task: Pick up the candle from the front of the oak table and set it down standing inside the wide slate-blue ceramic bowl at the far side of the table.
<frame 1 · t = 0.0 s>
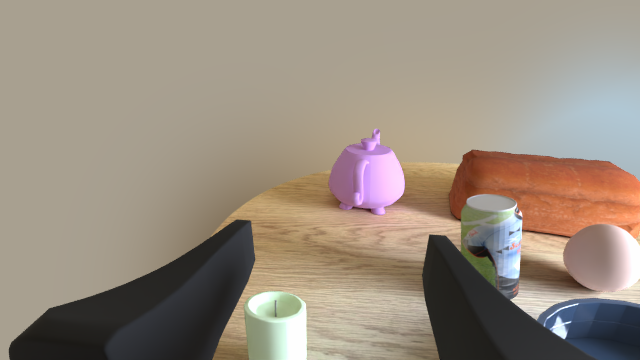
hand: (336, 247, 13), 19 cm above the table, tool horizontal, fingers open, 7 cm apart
bread: (528, 217, 58), on the table
beverage can: (480, 291, 39), on the table
teapot: (365, 201, 63), on the table
egg: (590, 286, 40), on the table
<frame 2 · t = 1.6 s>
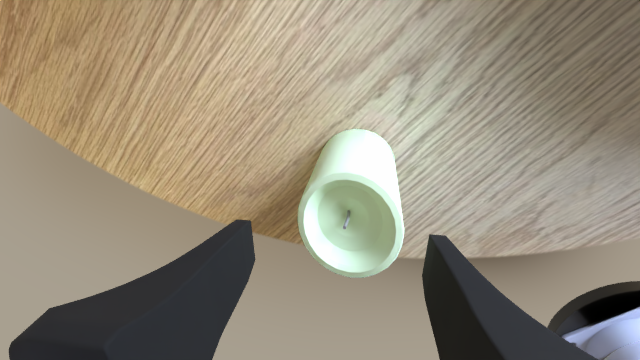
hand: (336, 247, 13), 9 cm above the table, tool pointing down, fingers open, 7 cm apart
candle: (356, 163, 22), on the table
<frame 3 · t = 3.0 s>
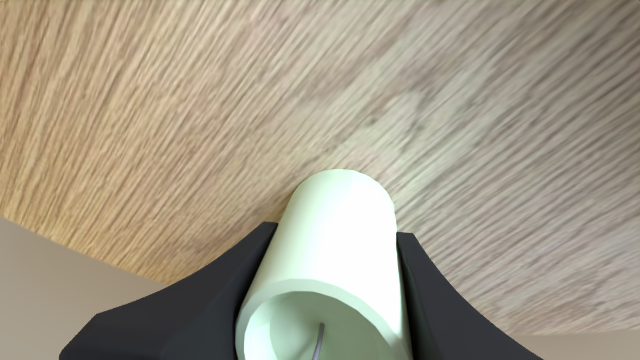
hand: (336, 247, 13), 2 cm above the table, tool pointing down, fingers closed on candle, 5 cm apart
candle: (341, 213, 15), on the table, touching gripper
when the fingers open (3 cm above the table, at t = 8.3 s): candle stays where it is, resting on bowl.
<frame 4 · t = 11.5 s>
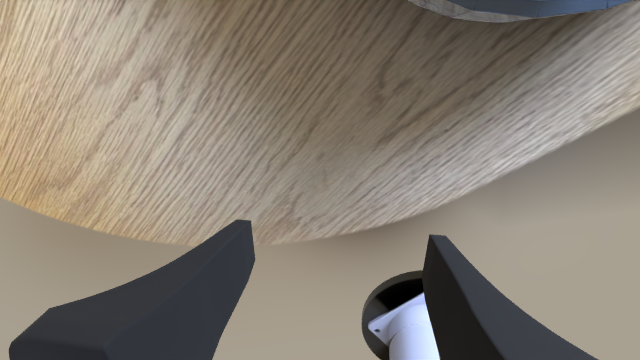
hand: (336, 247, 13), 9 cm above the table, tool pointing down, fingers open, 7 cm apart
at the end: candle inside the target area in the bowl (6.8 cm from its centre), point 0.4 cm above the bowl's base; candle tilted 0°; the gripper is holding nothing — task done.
